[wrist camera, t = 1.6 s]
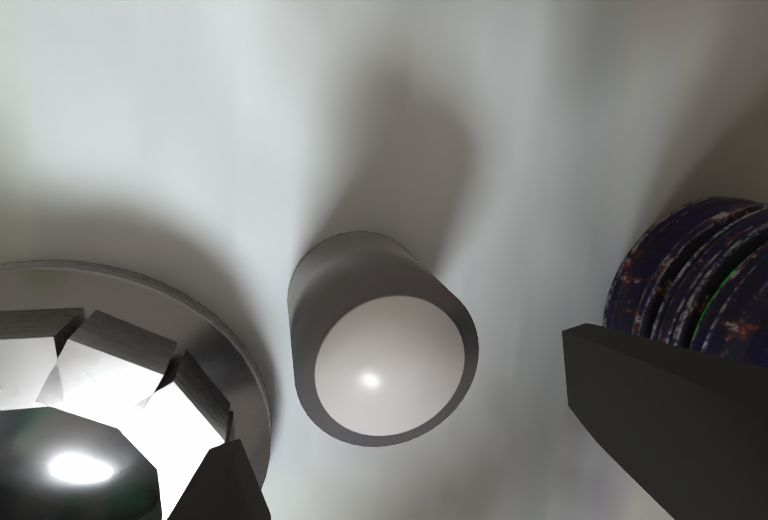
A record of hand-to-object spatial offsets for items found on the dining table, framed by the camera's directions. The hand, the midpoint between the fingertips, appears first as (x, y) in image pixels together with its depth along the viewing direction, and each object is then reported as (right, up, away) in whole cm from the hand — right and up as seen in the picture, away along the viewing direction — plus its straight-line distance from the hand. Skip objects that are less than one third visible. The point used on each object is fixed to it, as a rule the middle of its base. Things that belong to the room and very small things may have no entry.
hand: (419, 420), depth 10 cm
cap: (-2, +2, +7) cm, 7 cm away
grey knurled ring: (-11, -3, +6) cm, 13 cm away
